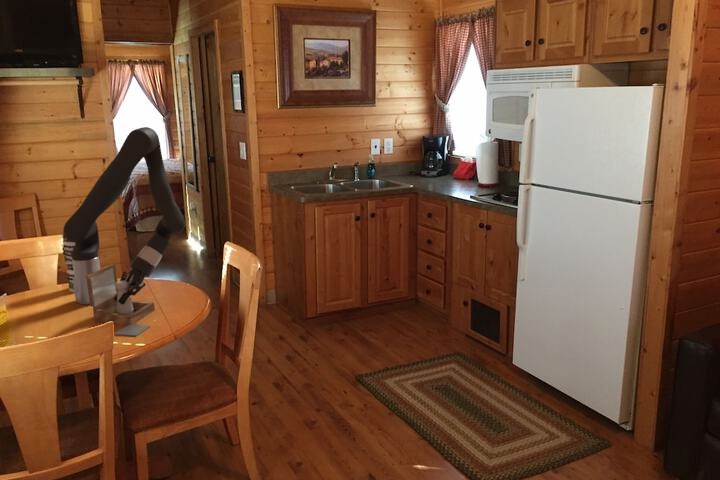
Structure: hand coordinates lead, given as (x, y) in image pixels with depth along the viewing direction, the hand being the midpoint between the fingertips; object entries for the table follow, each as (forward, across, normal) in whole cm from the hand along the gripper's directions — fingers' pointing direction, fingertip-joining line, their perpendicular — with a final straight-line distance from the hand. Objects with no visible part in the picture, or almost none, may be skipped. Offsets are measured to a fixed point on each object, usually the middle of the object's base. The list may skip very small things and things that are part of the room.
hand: (118, 302), depth 213 cm
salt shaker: (+3, 0, +6) cm, 6 cm away
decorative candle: (+1, -44, +7) cm, 45 cm away
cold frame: (+3, 0, +6) cm, 6 cm away
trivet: (+6, +15, +2) cm, 16 cm away
